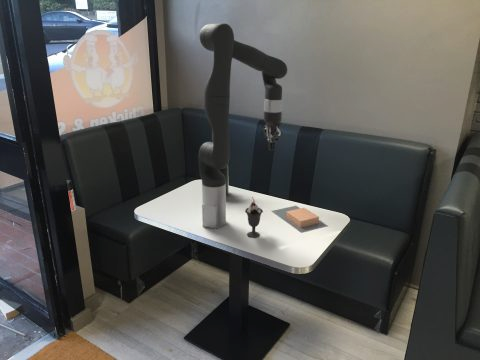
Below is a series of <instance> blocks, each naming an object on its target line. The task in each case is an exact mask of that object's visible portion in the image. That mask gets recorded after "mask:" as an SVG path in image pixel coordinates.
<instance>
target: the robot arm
mask: <svg viewBox="0 0 480 360" xmlns="http://www.w3.org/2000/svg"><path fill="white" fill-rule="evenodd" d="M199 42H200V44H201V45H202V47H203V48H204V49H205V50H207V51H209V52H213V66H212V69H211V72H210V74H209V77H208V79H207V82H206V84H205V87H204V92H203V108H204V113H205V115H206V118H207V121H208V123H209V126H210V128H211V132H212V131H213V142H212V141H206V142H204V143H202V145H200V148H199V151H198V160H197V161H198V169H199V170H198V171H199V176H200V179H201V189H202V190H201V191H202V192H201V193H202V202H201V203H202V205H201V210H202V211H201V212H202V213H201V218H202V220H201V221H202V227H205V228H210V229H214V230H217V229H218V228H222V227H224V226H225V225H226V224H227V213H226V212H227V210H226V209H227V208H226V207H227V206H226V205H227V203H226V202H227V200H226V199H227V196H226V178H225V176H224V174H222V173H221V171H220V170H221V169H224V168H225V167H226V166H227V165H228V166H229V163H230V158H231V144H230V126H229V125H230V120H229V119H230V98H231V97H230V96H231V92H230V91H231V72H232V71H231V70H232V62H233V59H234V60H236V61H237V62H238V61H239V62H240V63H242V64H244V65H246V66H248V67H249V68H252V69H253V70H256V71H258V72H261V77H262V81H263V85H264V101H263V102H264V103H263V122H265V125H264V126H262V132H263V134H264V137H265V138H264V139H265V140H267V142H268V145H267V146H268V150H269V151H270V152H272V151H275V146H276V143H277V142H279V140H280V138H281V136H282V135H283V131H282V130H280V123H281V122H282V118H283V117H282V116H283V113H282V112H283V101H282V100H283V87H282V85H281V84H279V83H277V80H278V79H279V80H281V79H283V78H284V77H286V75H287V74H288V66H287V64H286V63H285V62H284V61H283V60H282V59H280V58H277V57H275V56H272V55H269V54H266V53H265V52H264V51H262V50H260V49H258V48H256V47H254V46H252V45H249V44H246V43H243V42H240V41H237V40H235V33H234V30H233V27H232V26H231V25H230V24H228V23H223V22H221V23H220V22H219V23H208V24H206V25H204V26H203V27H202V28H201V29H200V31H199ZM276 79H277V80H276ZM219 169H220V170H219Z"/></svg>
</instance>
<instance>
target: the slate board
mask: <svg viewBox="0 0 480 360" xmlns="http://www.w3.org/2000/svg"><path fill="white" fill-rule="evenodd" d="M300 208H301V207H299V206H297V205H292V206H287V207H284V208H278V209H274V210H271V213H273V214H274V215H276V216H277V217H279V218H280V219H281V220H283V221H284V222H286V224H288V225H290V226H291V227H293V228H294V229H295V230H297V231H298V232H299V233H302V234H303V233H306V232H310V231H314V230H318V229H322V228H325V227H328V226H329V225H328V224H326V223H325V222H323V221H321V220H320V219H319V223H317V224H313V225H309V226H305V227H301V228H300V227H298V226H297V225H296V224H294V223H293V222H291V221H290V220H288V219H287V218H286V212H287V211H291V210H296V209H300Z"/></svg>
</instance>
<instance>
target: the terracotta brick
mask: <svg viewBox="0 0 480 360" xmlns="http://www.w3.org/2000/svg"><path fill="white" fill-rule="evenodd" d="M299 208H300V209H296V210H291V211H287V212H286V218H287V219H288V220H290V221H291V222H293V223H294V224H296V225H297V226H298V227H300V228H301V227H305V226H309V225H313V224H317V223H319V220H320V216H319V215H318V214H315V213H314V212H312V211H310V210H309V209H307V208H305V207H299Z"/></svg>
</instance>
